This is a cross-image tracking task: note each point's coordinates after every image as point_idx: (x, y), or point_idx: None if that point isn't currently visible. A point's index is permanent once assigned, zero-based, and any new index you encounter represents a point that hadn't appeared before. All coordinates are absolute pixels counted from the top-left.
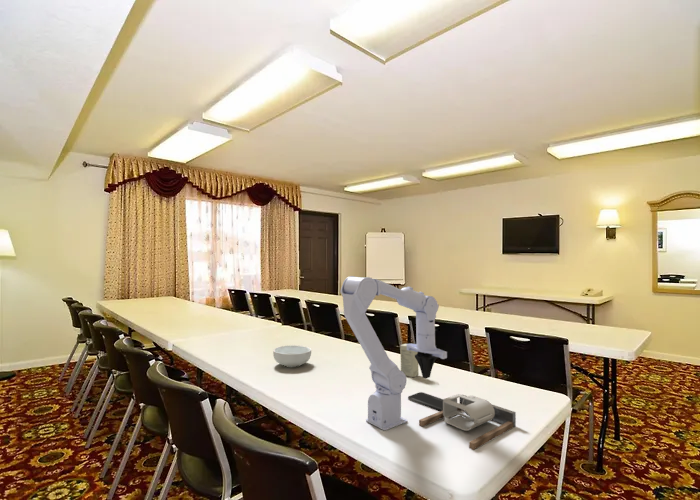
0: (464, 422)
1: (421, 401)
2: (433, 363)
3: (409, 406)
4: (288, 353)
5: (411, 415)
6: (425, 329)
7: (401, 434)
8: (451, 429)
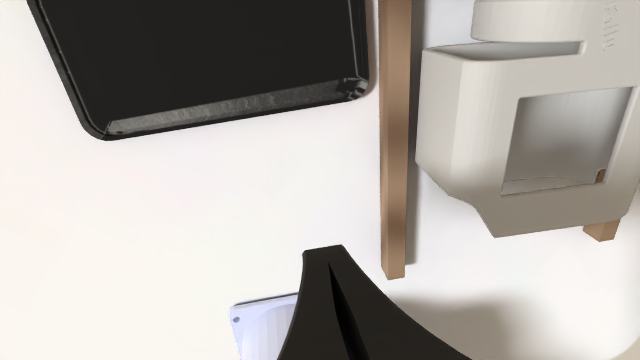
0: (514, 124)
1: (192, 108)
2: (426, 336)
3: (203, 190)
4: None
5: (296, 241)
6: None
7: None
8: None
